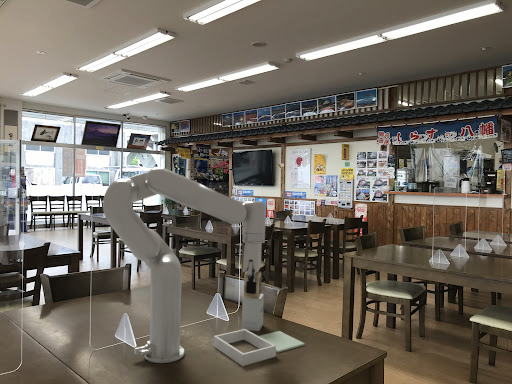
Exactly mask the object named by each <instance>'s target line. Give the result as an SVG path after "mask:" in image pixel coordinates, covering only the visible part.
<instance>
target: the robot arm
mask: <svg viewBox="0 0 512 384" xmlns="http://www.w3.org/2000/svg"><path fill="white" fill-rule="evenodd" d="M157 195H159V196H160V197H161V196H162V197H164V198H167V199H169V200H172V201H173V202H175V203H177V204H180V205H182V206H184V207H187V208H191V209H192V210H195V211H200V212H201V213H202V212H203V213H205V214H207V215H210V216H212V217H214V218H216V219H219V220H221V221H223V222H226V223H229V224H231V225H239V224H241V223H242V242H243V243H244V249H243V262H242V272H243V273H246V271H247V283H246V293H248V294H256V282H255V280H256V273H257V272H260V271H259V270H260V269H261V266H262V244H265V243H266V240H265V239H266V211H267V210H266V208H267V207H266V203H265V202H264V201H258V200H248V201H241V200H236V199H234V198H232V197H229V196H227V195H225V194H223V193H221V192H218V191H216V190H213V189H212V188H209V187H207V186H205V185H204V184H202V183H200V182H197V181H195V180H192V179H191V178H190V179H189V178H188V177H185V176H183V175H181V174H179V173H176V172H174V171H172V170H169V169H167V168H165V167H161V166H156V167H153V168H151V169H150V170H148V171H145V172H142V173H139V174H136V175H134V176H133V175H132V176H130V177H127V178H119V179H116V180H114V181H113V182H111V183H110V184H109V186H108V187H107V188H106V191H105V193H104V197H103V199H102V210H103V211H102V212H103V215H104V217H105V219H106V221H107V222H108V224H109V226H110V227H111V228H112V229H113V231H114V232H115V233H116V234H117V236H118V237H119V239H120V240H121V241H122V243H124V245H125V246H126V247H127V248H128V249H129V251H130V253H131V254H132V256H133V257H134V258H136V259H137V260H139V261H142V262H144V263H145V265H146V266H147V267H148V268H149V270H150V304H149V305H150V307H149V308H150V311H149V313H150V314H149V315H150V316H149V319H150V320H149V321H150V322H149V340H148V341H146V344H144V345H143V346H138V347H134V348H133V349H134V350H133V353H134V355H138V354H140V355H141V356H144V359H145V360H146V361H148V362H151V363H155V364H166V363H167V364H168V363H173V362H176V361H178V360H180V359H181V358H183V357H184V355H185V349H184V347H182V346H181V343H180V342H181V341H180V339H181V310H182V309H181V308H182V307H181V306H182V305H181V304H182V302H181V299H182V296H181V295H182V281H183V272H182V265H181V263H180V260H179V257H177V256H176V254H175V253H174V251H173V250H172V249H171V248H170V247H169V245H168V244H167V242H165V241H164V239H163V237H162V236H160V234H159V233H158V232H157V231H156V230H153V229H151V228H149V227H148V226H147V225H146V223H144V221H143V220H142V219H141V217H140V216H139V215H138V214H137V213H136V211H135V209H134V207H133V203H136V202H139V201H141V200H145V199H147V198H151V197H154V196H157ZM252 271H254V272H252ZM252 274H254V277H253V275H252Z"/></svg>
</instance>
